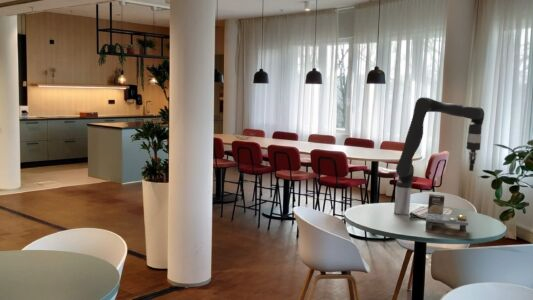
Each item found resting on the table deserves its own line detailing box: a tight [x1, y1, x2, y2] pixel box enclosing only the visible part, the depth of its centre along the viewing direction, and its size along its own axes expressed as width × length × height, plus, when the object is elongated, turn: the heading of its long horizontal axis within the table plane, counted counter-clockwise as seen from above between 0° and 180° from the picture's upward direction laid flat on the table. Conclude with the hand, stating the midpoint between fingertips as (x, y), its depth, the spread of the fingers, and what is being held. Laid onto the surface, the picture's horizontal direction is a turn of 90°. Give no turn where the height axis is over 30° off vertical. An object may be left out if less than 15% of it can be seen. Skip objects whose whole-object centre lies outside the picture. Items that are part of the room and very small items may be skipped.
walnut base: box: [425, 215, 468, 237], centre depth 310 cm, size 22×17×6 cm
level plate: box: [425, 212, 469, 227], centre depth 309 cm, size 22×16×4 cm
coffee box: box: [426, 193, 445, 225], centre depth 329 cm, size 9×6×16 cm
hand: (471, 170), depth 320 cm, fingers closed
